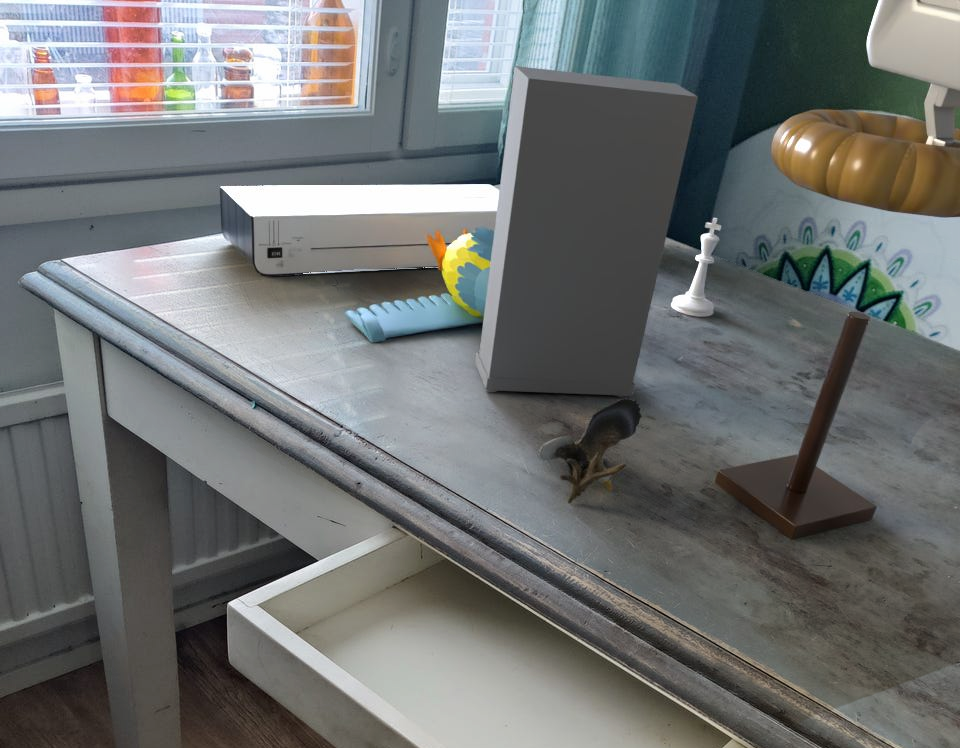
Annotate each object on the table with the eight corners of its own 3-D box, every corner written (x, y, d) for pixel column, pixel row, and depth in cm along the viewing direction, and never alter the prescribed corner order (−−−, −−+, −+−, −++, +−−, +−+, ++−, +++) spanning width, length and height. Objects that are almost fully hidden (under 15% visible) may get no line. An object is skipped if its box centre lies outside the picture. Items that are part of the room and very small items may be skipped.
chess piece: (709, 320, 111) (734, 228, 105) (667, 310, 112) (689, 218, 106) (716, 307, 115) (740, 218, 109) (675, 297, 116) (697, 208, 110)
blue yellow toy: (560, 204, 109) (648, 252, 99) (547, 282, 114) (628, 334, 105) (329, 216, 95) (406, 272, 86) (326, 304, 100) (398, 366, 91)
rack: (793, 466, 84) (855, 288, 75) (872, 519, 78) (950, 333, 69) (713, 482, 80) (769, 296, 71) (791, 539, 74) (863, 345, 65)
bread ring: (873, 164, 77) (891, 107, 75) (1053, 220, 67) (1081, 156, 64) (720, 165, 70) (735, 102, 68) (895, 228, 59) (920, 156, 57)
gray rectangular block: (613, 371, 96) (674, 82, 81) (631, 398, 91) (700, 97, 76) (474, 365, 93) (510, 63, 78) (485, 393, 88) (526, 78, 73)
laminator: (483, 234, 126) (489, 183, 123) (531, 267, 118) (539, 213, 115) (221, 243, 112) (219, 185, 108) (256, 281, 104) (254, 220, 100)
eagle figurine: (646, 507, 73) (659, 437, 79) (609, 431, 69) (625, 362, 75) (554, 531, 77) (573, 462, 83) (514, 460, 73) (536, 392, 79)
